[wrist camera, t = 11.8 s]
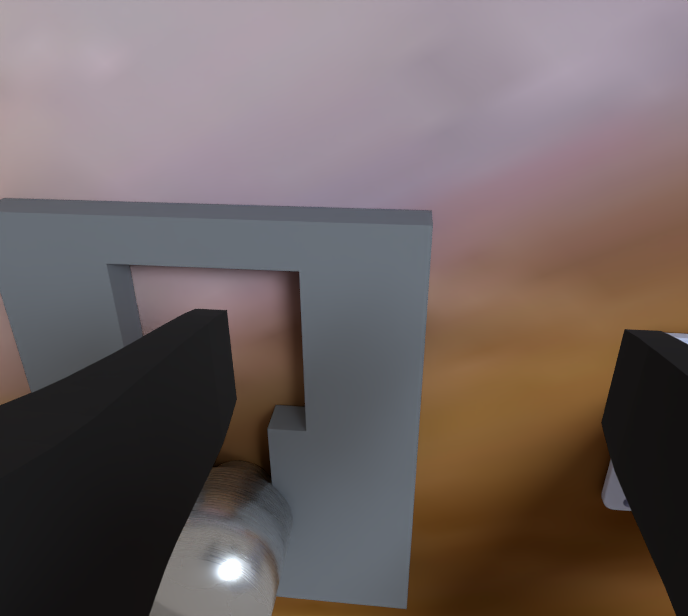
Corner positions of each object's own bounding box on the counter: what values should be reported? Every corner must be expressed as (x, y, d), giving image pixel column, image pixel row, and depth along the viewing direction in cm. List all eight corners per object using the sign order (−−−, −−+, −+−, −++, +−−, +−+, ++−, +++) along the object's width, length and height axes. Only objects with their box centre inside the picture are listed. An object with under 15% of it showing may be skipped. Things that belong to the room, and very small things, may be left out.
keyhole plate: (431, 210, 19) (432, 225, 18) (406, 579, 27) (406, 609, 26) (4, 198, 20) (-25, 211, 19) (103, 551, 29) (88, 577, 27)
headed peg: (298, 443, 24) (265, 566, 19) (301, 531, 27) (273, 662, 21) (178, 433, 25) (113, 550, 19) (192, 521, 27) (137, 646, 22)
